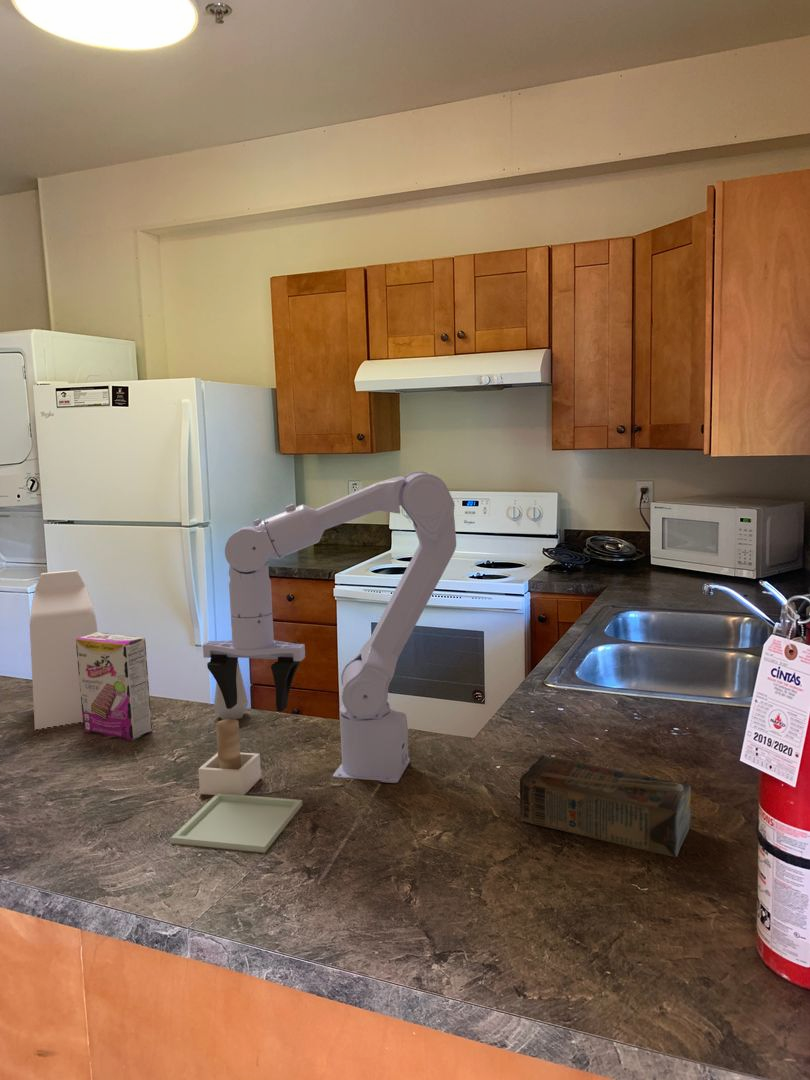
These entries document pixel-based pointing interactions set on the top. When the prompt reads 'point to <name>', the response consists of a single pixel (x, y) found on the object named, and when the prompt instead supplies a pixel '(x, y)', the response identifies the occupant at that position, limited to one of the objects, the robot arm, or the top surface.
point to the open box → (229, 776)
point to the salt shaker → (242, 701)
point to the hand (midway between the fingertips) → (256, 707)
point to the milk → (58, 646)
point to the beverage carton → (606, 804)
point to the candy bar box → (114, 685)
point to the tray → (238, 822)
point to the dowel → (228, 744)
